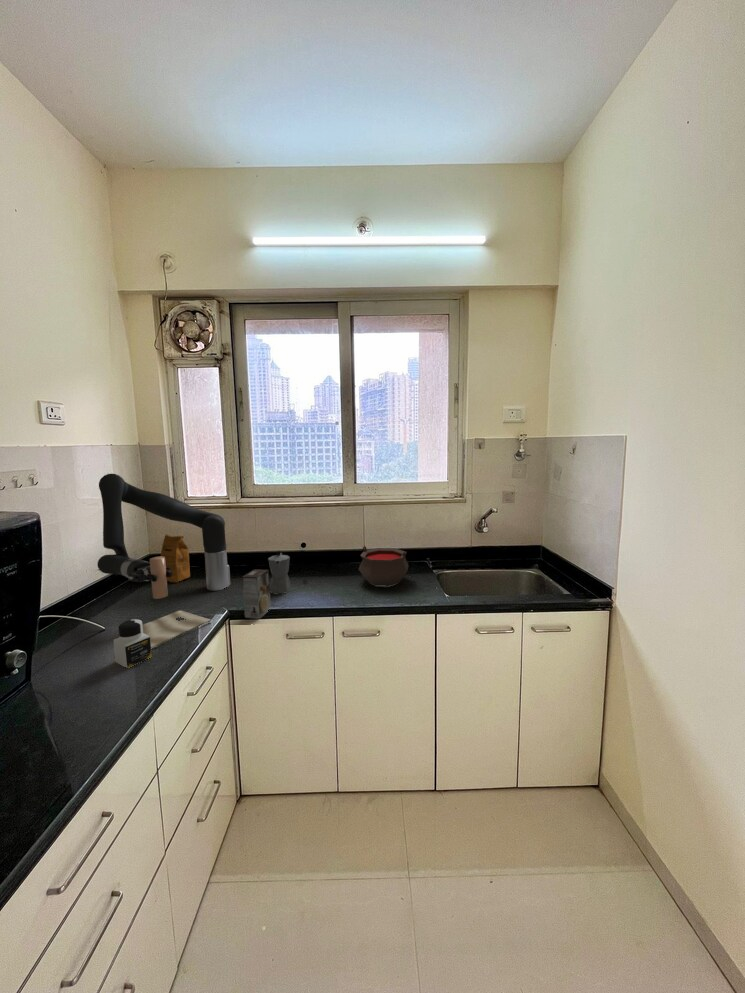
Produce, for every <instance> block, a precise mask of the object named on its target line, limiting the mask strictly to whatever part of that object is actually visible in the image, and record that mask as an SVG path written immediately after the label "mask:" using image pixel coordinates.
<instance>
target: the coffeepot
mask: <svg viewBox="0 0 745 993" xmlns="http://www.w3.org/2000/svg"><path fill="white" fill-rule="evenodd" d="M290 560H291V557H290V556H289V555H288V554H287V555H286V554H283V552H281V551H280V550H278V551H277V550H276V555H271V556H270V557H268V558H267V561H268V564H269V565H268V566H269V572H270V574H271V578H270V584H269V585H270V591H271V592H272V593H284V592H288V591H289V590H290V589H291V590H292V588H291V583H290V577H289V575H288V573H289V572H290V571H289V570H290ZM291 590H290V591H291ZM290 591H289V592H290ZM271 592H270V593H271ZM289 592H288V593H289ZM272 593H271V594H272Z"/></svg>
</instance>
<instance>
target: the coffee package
mask: <svg viewBox="0 0 745 993" xmlns="http://www.w3.org/2000/svg"><path fill="white" fill-rule="evenodd" d="M161 556H162V557H165V564H166V565H167V566H168V567H170V571H171V572H172V576H171V577H167V582H168V581H169V582H168V583H180V582H181V581H183V580H186V579H188V578H190V577H191V571H190V570H191V568H190V565H191V564H190V554H189V547H188V546H187V544H186V543H185V542H184V536H183V535H178V536H175V535H173V536H171V535H169V534H165V536H164V538H163V542H162V546H161V550H160V557H161ZM179 581H180V582H179Z"/></svg>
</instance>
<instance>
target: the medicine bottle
mask: <svg viewBox="0 0 745 993" xmlns="http://www.w3.org/2000/svg"><path fill="white" fill-rule="evenodd" d="M142 625H143V621H142V620H140V619H137V618H136V619H135V618H134V619H133V618H132V619H129V620H125V621H123V622H121V623H120V624H119V625H118V626H117V627H118V636H119V637H117V638H115V639H113V649H114V651H113V652H114V662H115V663H116V664H118V665H120V666H122V667H124V668H125V667H126V669H127V668H128V669H130V667H131V668H132V666H133V667H135V666H137V665H139V664H141V663H143V662H142V661H144V660H146V659H148V660H150V659H152V658H151V657H153V656H152V650H151V643H150V636H148V635H146V634H144V633H143V626H142ZM149 658H150V659H149ZM146 661H147V660H146ZM140 662H141V663H140ZM144 662H145V661H144ZM138 663H139V664H138ZM136 664H137V665H136ZM134 665H135V666H134Z"/></svg>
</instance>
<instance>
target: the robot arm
mask: <svg viewBox="0 0 745 993" xmlns="http://www.w3.org/2000/svg"><path fill="white" fill-rule="evenodd" d="M98 489H99V491H100V492H99V493H100V495H101V496H100V497H101V502H102V515H103V516H102V517H103V520H102V524H103V525H102V546H103V548H104V549H107V550H111V551H112V550H113V551H114V554H104V555H102V556H101V557H100V558H99V559H98V560H97V568H98V570H99V571H100V572H101V573H103V574H108V575H120V576H123V577H126V578H128V581H129V582H134V583H135V582H136V583H143V582H149V581H150V582H151V581H153V582H156V581H157V577H156V575H153V574H151V570H150V561H147V560H143V559H139V558H132V557H129V555H128V551H127V548H126V545H125V531H124V530H125V529H124V528H125V527H124V521H123V520H124V519H123V512H122V503H126V504H129V505H133V506H135V507H136V508H140V509H141V510H143V511H146V512H148V513H150V514H153V515H156V516H158V517H161V518H164V519H166V520H170V521H174V522H181V523H186V524H191V525H193V526H195V527H197V528H199V529H201V532H202V544H203V551H204V565H205V579H206V589H207V590H208V591H211V592H212V591H221V590H225V589H227V588H228V587H230V586H231V574H230V573H231V571H230V565H229V564H228V555H227V553H228V552H227V543H226V540H227V539H226V528H225V526H226V522H225V519H224V518H223V517H222V515H220V514H217V513H213V512H209V511H205V510H203V509H202V510H201V509H199V508H196V507H193V506H192V505H190V504H188V503H186V502H183V501H181V500H178V499H176V498H174V497H172V496H169V495H166V494H163V493H159V492H155V491H150V490H145V489H142V488H139V487H137V486H134V485H133V484H130V483H128V482H126V481H125V480H124V478H123V477H122V476H121V475H119V474H117V473H107V474H104V475H103V476H102V477H100V479H99V481H98ZM171 576H172V572H171V571H170V567H168V566H167V565H166V577H171ZM226 587H227V588H226ZM224 588H225V589H224Z"/></svg>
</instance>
